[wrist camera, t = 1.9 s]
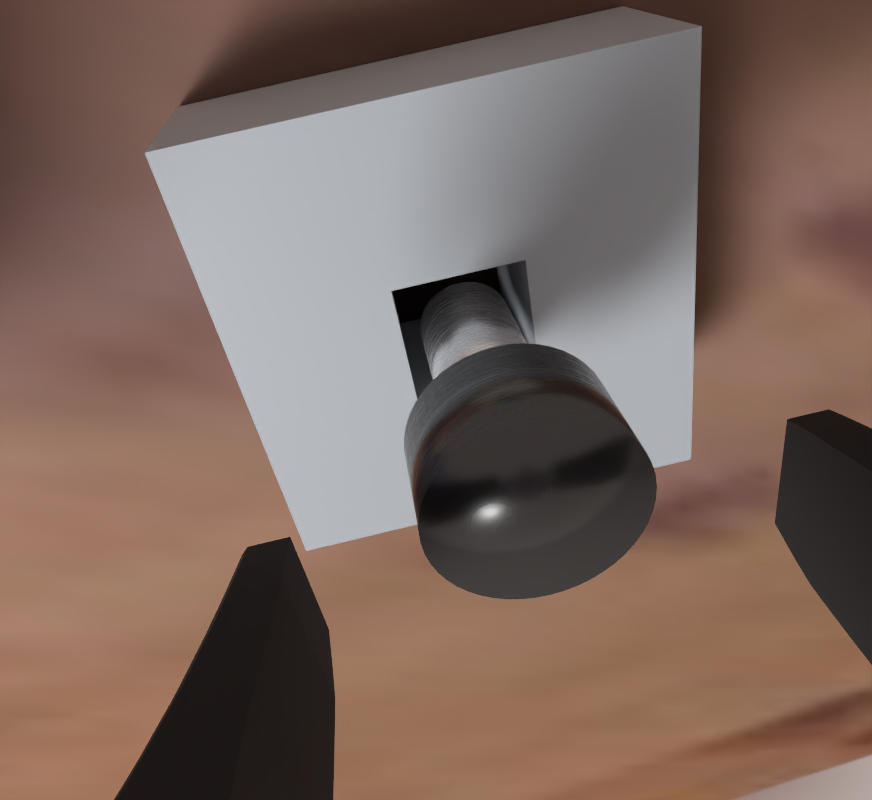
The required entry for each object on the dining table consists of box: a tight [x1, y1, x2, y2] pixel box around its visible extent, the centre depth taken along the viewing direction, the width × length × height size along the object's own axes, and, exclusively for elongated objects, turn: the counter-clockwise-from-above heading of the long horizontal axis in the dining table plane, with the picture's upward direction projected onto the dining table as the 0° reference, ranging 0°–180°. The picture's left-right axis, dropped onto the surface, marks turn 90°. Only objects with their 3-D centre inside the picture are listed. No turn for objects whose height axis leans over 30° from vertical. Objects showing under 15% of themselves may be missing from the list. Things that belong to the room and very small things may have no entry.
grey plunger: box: [404, 282, 657, 599], centre depth 13 cm, size 4×4×6 cm
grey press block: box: [145, 6, 702, 551], centre depth 17 cm, size 10×10×4 cm
